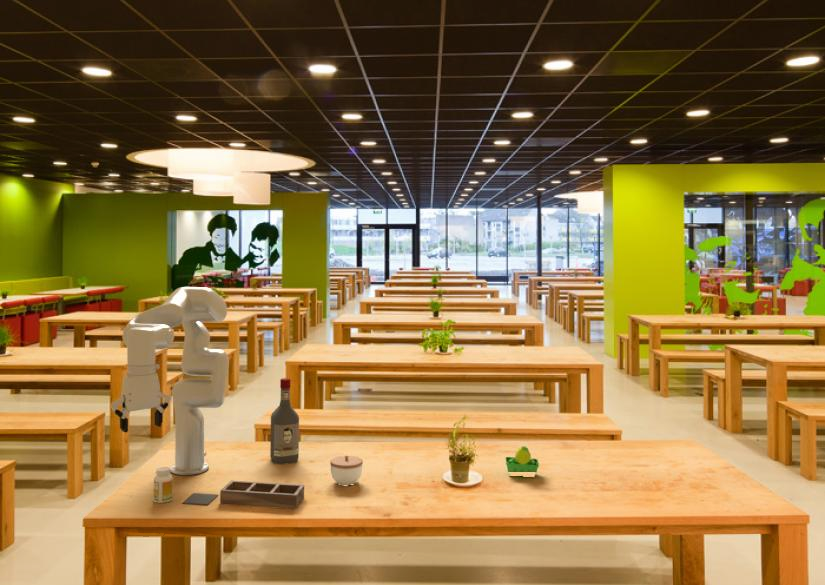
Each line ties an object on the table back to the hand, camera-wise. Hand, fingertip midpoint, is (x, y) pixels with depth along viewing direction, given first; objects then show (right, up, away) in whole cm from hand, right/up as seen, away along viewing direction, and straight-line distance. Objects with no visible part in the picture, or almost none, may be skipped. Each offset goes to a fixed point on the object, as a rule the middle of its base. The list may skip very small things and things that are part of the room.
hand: (141, 428), depth 196 cm
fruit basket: (+117, -25, +41) cm, 127 cm away
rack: (+33, -25, +11) cm, 42 cm away
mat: (+14, -24, +11) cm, 30 cm away
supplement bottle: (+2, -24, +10) cm, 26 cm away
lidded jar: (+57, -24, +29) cm, 68 cm away
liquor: (+32, -22, +52) cm, 65 cm away
